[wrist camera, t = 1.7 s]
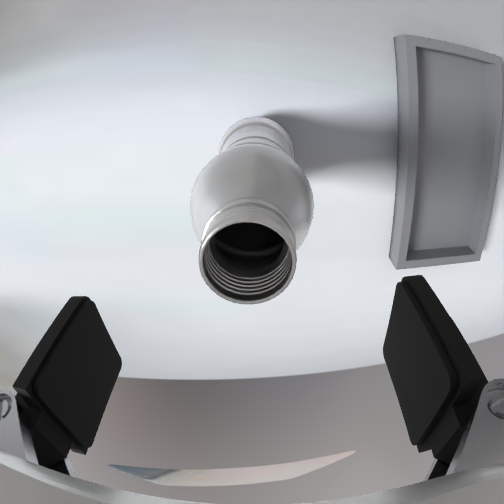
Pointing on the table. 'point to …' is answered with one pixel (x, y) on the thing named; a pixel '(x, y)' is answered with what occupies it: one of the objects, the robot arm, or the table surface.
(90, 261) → the table surface
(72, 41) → the table surface
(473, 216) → the grey rectangular tray
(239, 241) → the plastic bottle
